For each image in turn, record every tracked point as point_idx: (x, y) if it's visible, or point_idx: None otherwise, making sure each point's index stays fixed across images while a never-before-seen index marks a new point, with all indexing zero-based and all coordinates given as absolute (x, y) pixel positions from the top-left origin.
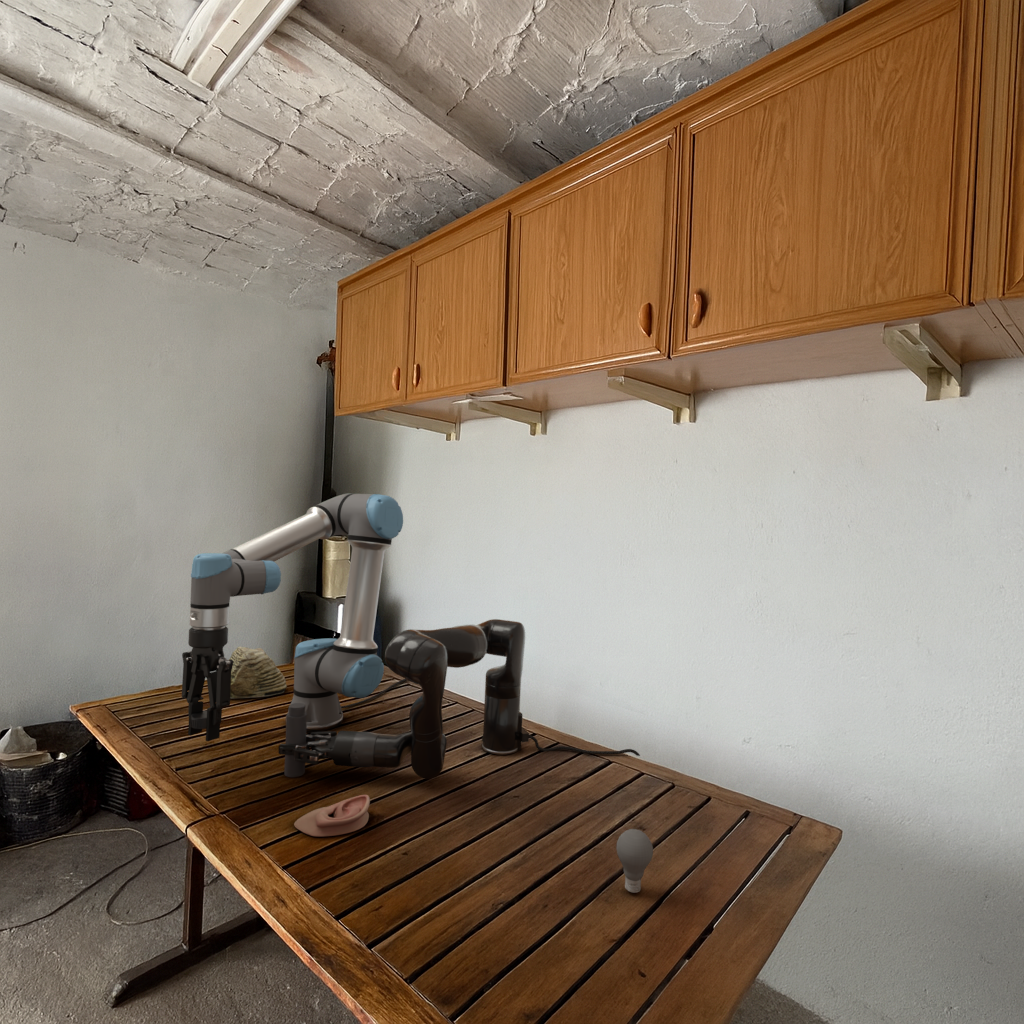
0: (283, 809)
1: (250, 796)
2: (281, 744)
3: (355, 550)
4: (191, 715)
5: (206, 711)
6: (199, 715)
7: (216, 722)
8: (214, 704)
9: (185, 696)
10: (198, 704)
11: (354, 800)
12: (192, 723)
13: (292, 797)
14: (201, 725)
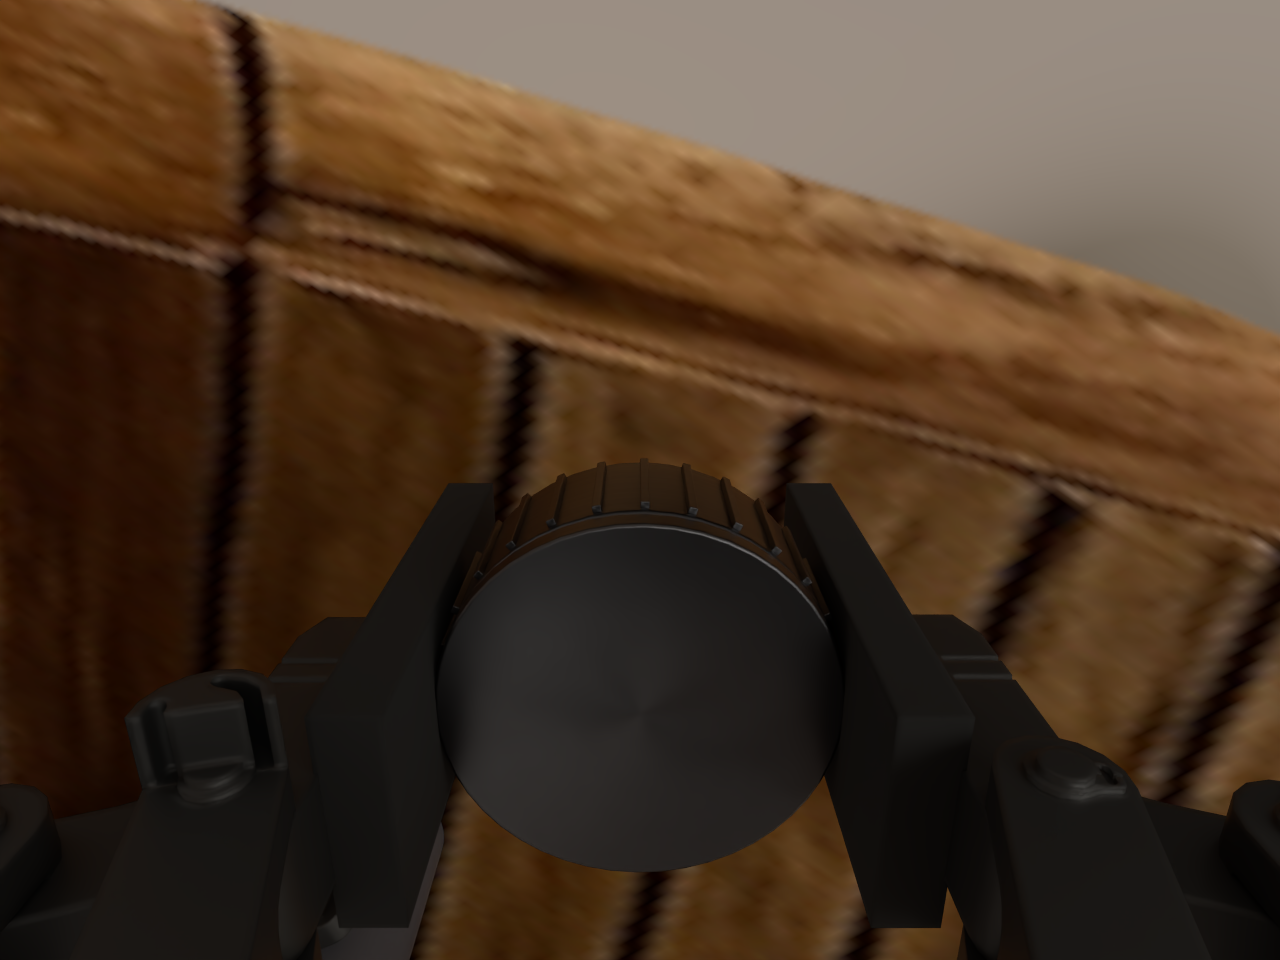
0: (4, 507)
1: (313, 511)
2: (322, 932)
3: None
4: (767, 567)
5: (740, 804)
6: (653, 638)
7: (295, 654)
8: (131, 849)
9: (1238, 830)
10: (875, 824)
11: None
12: (663, 485)
13: (109, 633)
14: (508, 526)
